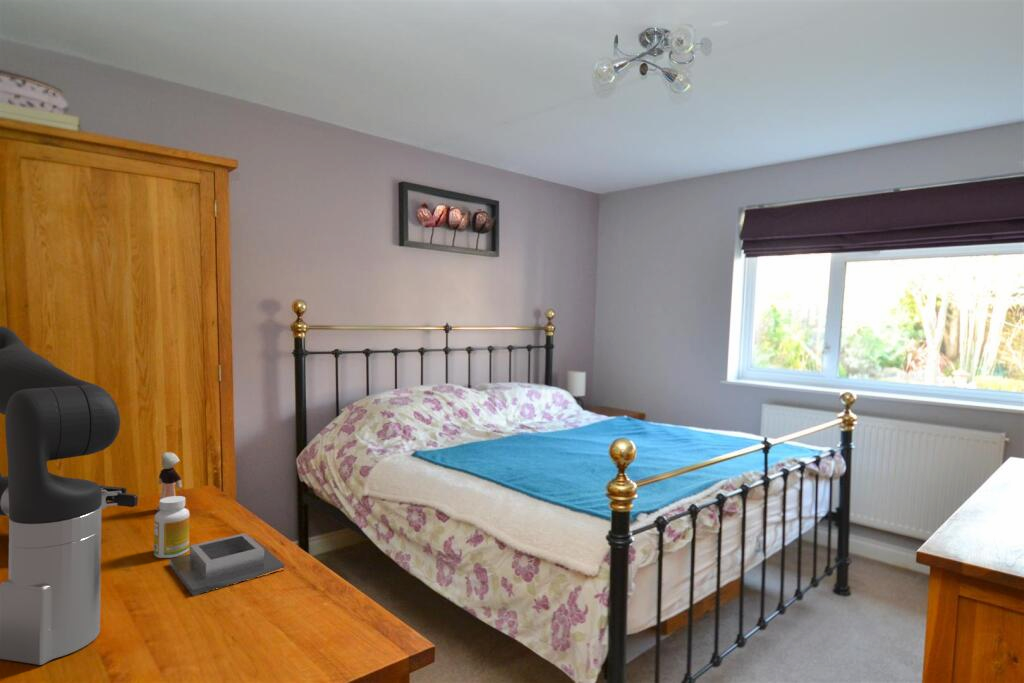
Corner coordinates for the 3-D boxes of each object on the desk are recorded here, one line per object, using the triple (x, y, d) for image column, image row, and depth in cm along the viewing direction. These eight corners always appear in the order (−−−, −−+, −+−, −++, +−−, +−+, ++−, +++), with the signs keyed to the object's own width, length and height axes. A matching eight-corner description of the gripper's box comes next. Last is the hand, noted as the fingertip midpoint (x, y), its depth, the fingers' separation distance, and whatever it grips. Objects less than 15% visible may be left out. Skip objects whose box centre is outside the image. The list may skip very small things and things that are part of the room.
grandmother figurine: (146, 511, 119) (147, 452, 119) (162, 505, 123) (163, 448, 123) (174, 516, 117) (175, 456, 117) (189, 510, 121) (190, 452, 120)
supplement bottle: (195, 547, 102) (196, 495, 102) (175, 560, 97) (176, 505, 97) (168, 545, 103) (169, 493, 102) (146, 557, 97) (147, 502, 97)
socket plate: (284, 570, 95) (284, 550, 95) (192, 596, 85) (193, 573, 85) (254, 544, 105) (254, 525, 105) (169, 564, 95) (169, 544, 95)
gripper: (0, 491, 97) (81, 501, 94) (76, 469, 111) (148, 477, 108) (-1, 533, 97) (80, 544, 95) (75, 506, 111) (147, 515, 109)
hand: (117, 508), depth 101 cm, fingers open, 8 cm apart
